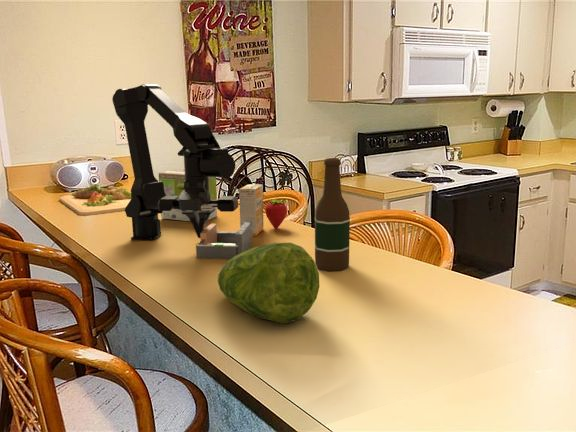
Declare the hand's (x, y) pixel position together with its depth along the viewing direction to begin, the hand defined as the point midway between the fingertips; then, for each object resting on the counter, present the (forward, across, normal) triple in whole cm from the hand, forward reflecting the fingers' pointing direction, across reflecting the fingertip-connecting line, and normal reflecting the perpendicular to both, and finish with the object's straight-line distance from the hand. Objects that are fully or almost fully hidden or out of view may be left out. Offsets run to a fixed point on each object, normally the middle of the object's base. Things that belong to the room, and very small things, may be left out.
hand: (200, 237), depth 135 cm
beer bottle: (+4, +33, -11) cm, 35 cm away
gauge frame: (+3, +6, 0) cm, 7 cm away
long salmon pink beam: (+3, +2, -1) cm, 4 cm away
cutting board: (+4, -52, +56) cm, 77 cm away
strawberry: (+3, +16, +23) cm, 28 cm away
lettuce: (+4, +21, -36) cm, 42 cm away
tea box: (+3, -13, +35) cm, 38 cm away
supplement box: (+3, +10, +18) cm, 21 cm away
